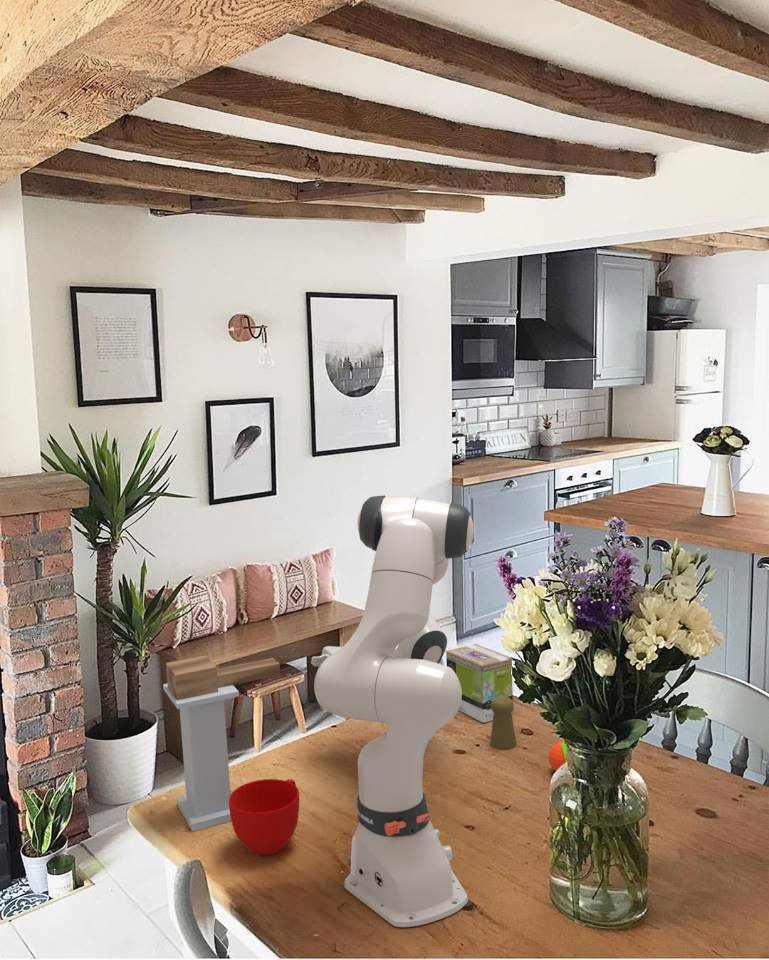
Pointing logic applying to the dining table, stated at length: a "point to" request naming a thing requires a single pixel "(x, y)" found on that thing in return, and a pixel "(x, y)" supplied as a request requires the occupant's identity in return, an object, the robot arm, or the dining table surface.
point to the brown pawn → (502, 724)
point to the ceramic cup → (265, 814)
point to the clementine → (558, 755)
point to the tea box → (480, 678)
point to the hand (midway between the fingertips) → (322, 669)
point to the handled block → (214, 675)
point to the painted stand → (205, 757)
